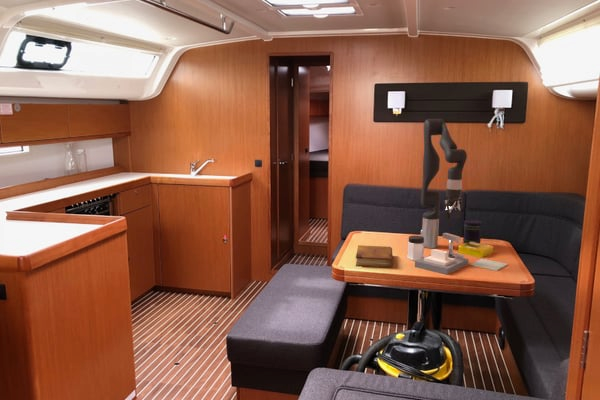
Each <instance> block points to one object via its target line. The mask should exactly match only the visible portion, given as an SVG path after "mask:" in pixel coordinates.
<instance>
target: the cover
mask: <svg viewBox="0 0 600 400" xmlns="http://www.w3.org/2000/svg"><path fill="white" fill-rule="evenodd" d="M448 254H449V251H445V250H441V249H436V248H432V249H431V250H430V255H431V256H430V255H428V257H427V256H425V257H426V258H424V261H426V262H430V263H435V264H439V265H443V266H446V265H448V264H451V263H453V262H455V259H453V258H448Z"/></svg>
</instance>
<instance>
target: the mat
mask: <svg viewBox="0 0 600 400" xmlns="http://www.w3.org/2000/svg"><path fill="white" fill-rule="evenodd" d="M469 266H471V267H475V268H479V269H480V268H481V269H486V270H491V271H496V272H498V271H500V270H501V269H503V268H505V267H507V266H508V263H505V262H500V261H495V260H492V259H490V260H489V259H486V258H485V259H484V258H480V259H478V260H476V261H474V262H471V263H469Z"/></svg>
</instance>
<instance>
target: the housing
mask: <svg viewBox="0 0 600 400" xmlns="http://www.w3.org/2000/svg"><path fill="white" fill-rule="evenodd" d="M428 256H431V254H430V255H428ZM428 256H424V258H426V257H428ZM424 258H422V259H419V260H417V261H414V267H415V268H418V269H422V270H425V271H426V270H427V271H431V272H434V273H439V274H443V275H446V276H447V275H450V274H452V273H454V272H456V271H458V270H460V269H462V268H464V267H466V266H469V261H470V258H465V257H464V258H461V257H458V256H455V255H452V256H449V255H448V258H453V259H455V262H453V263H451V264H448V265H446V266H443V265H439V264H435V263H430V262H426V261H424Z"/></svg>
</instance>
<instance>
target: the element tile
mask: <svg viewBox="0 0 600 400" xmlns="http://www.w3.org/2000/svg"><path fill="white" fill-rule="evenodd" d="M493 252H494V246H493V245H490V244H485V243H481V242H480V243H476V242H467V243H464V244H463V243H461V244H459V245H458V249H457V253H458V254H461V255H466V254H467V255H466V256H472V257H477V258H485V257H487V256H489V255H492V254H493Z"/></svg>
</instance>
